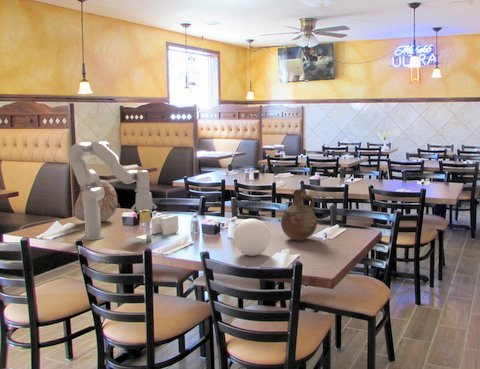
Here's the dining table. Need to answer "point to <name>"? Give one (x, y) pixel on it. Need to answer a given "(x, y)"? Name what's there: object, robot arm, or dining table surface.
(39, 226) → the dining table surface
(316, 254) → the dining table surface
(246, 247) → the sphere
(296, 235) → the jug
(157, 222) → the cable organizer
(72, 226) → the dining table surface
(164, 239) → the board
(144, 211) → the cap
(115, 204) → the fossil
